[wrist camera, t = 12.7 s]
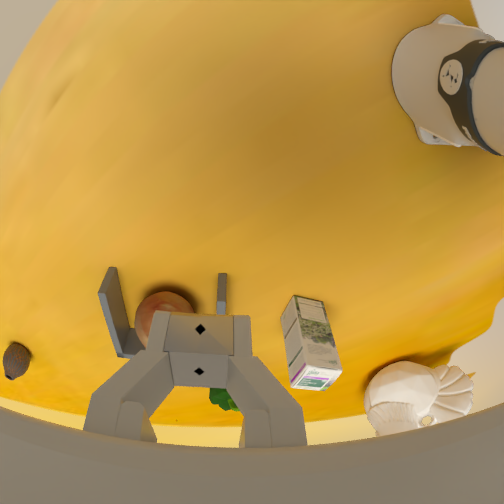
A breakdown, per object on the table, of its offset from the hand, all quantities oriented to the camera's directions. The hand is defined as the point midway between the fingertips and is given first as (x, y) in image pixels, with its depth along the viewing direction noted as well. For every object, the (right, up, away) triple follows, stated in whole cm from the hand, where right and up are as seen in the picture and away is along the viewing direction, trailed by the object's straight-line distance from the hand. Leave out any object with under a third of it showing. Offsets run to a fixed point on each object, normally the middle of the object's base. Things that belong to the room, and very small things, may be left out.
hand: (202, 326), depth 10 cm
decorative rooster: (+39, -25, +58) cm, 74 cm away
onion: (-12, -6, +42) cm, 44 cm away
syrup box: (+10, -7, +44) cm, 45 cm away
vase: (-53, -21, +50) cm, 76 cm away
